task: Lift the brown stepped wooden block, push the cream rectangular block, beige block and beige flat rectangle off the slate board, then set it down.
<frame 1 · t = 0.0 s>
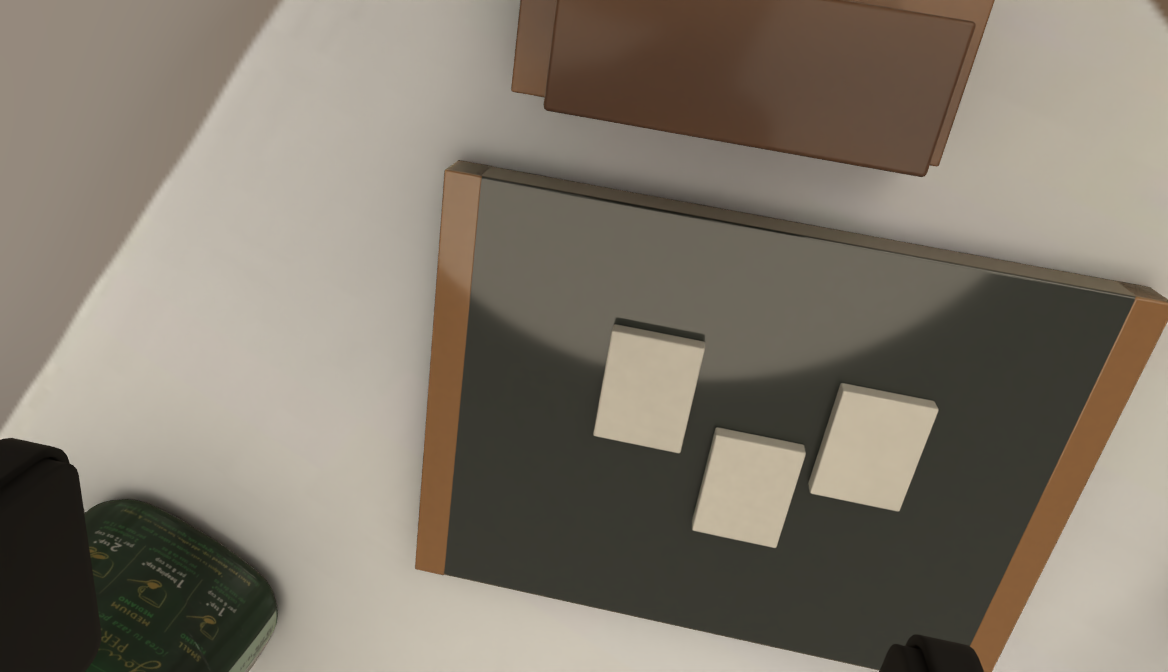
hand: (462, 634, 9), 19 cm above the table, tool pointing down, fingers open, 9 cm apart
beige block 2: (746, 483, 28), point 1 cm above the table, touching slate board
cream rectangular block 1: (648, 385, 27), point 1 cm above the table, touching slate board
brown stepped wooden block: (736, 39, 24), on the table
coffee jar: (184, 577, 36), on the table
beige flat rectangle 3: (868, 443, 27), point 1 cm above the table, touching slate board
slate board: (737, 434, 29), on the table
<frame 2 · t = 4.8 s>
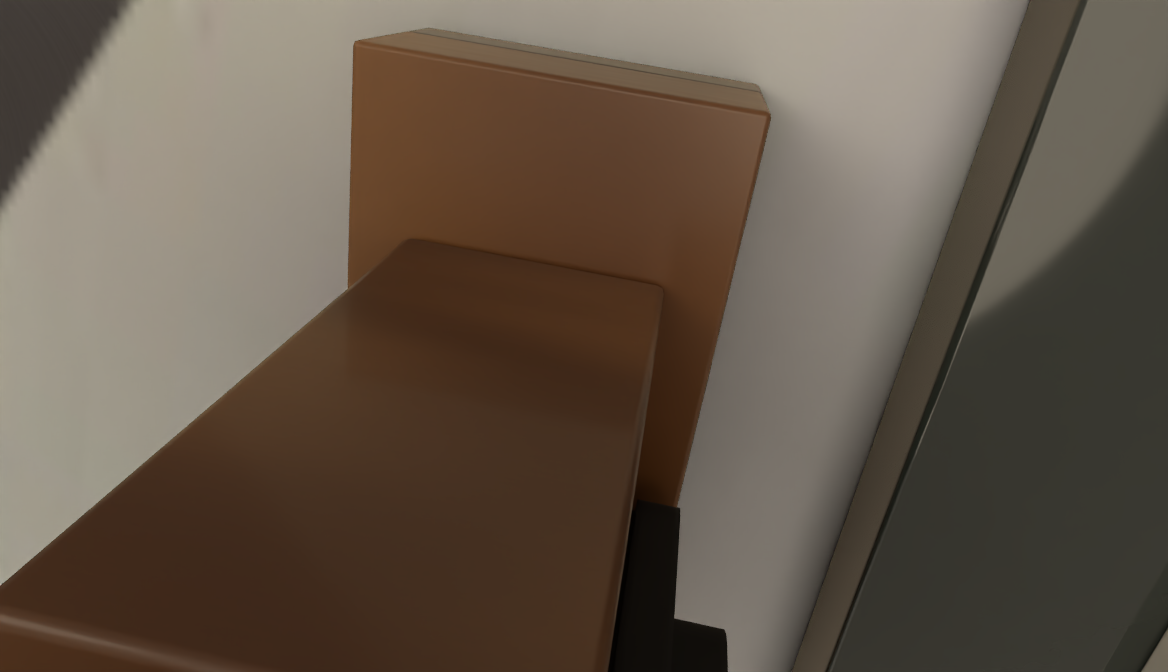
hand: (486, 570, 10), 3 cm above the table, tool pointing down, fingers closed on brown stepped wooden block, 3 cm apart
brown stepped wooden block: (534, 444, 13), on the table, touching gripper
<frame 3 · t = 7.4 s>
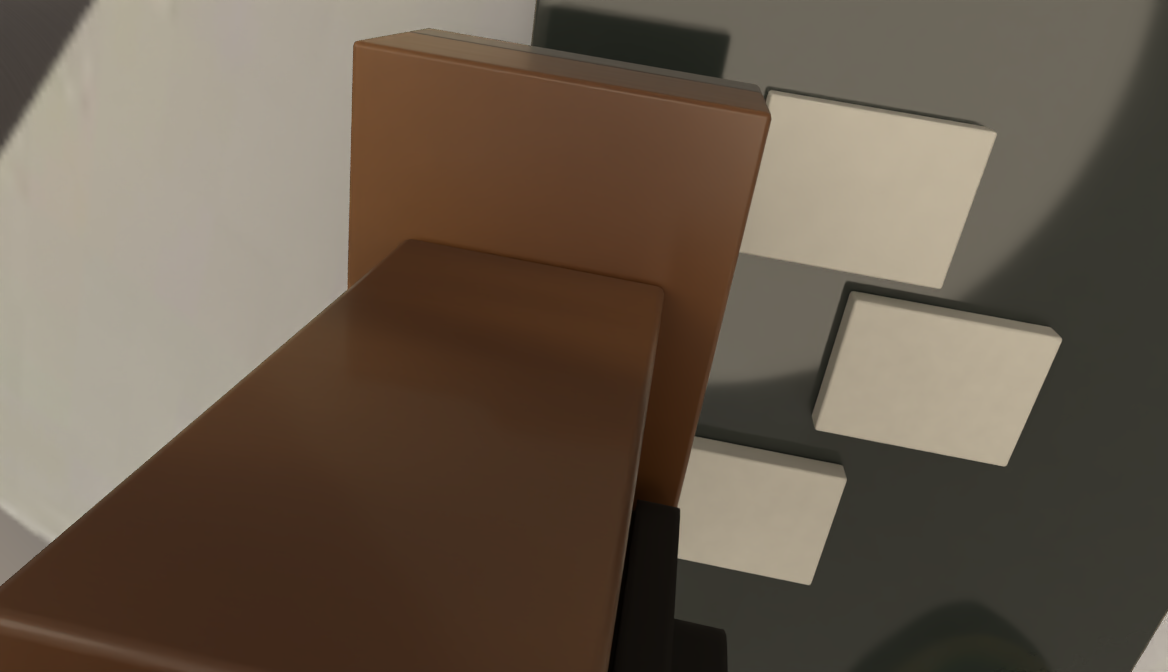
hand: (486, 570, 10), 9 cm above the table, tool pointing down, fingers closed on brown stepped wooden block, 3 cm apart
beige block 2: (925, 373, 17), point 1 cm above the table, touching slate board
cream rectangular block 1: (738, 501, 18), point 1 cm above the table, touching slate board
brown stepped wooden block: (534, 445, 13), point 6 cm above the table, touching gripper
beige flat rectangle 3: (853, 187, 15), point 1 cm above the table, touching slate board
slate board: (857, 355, 18), on the table
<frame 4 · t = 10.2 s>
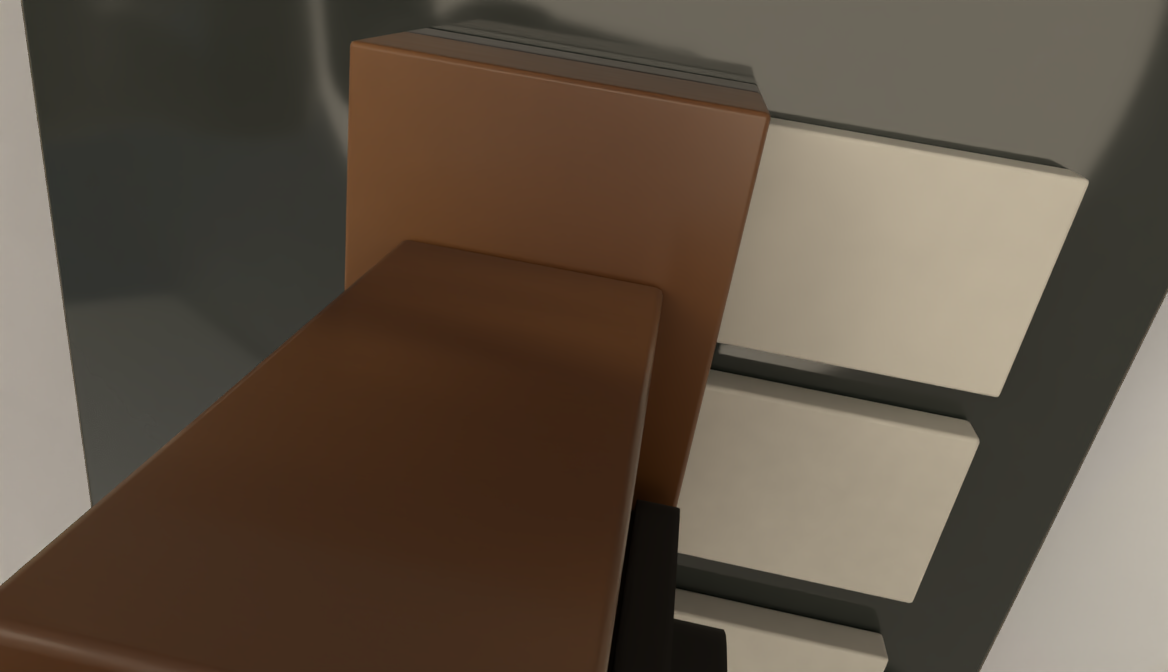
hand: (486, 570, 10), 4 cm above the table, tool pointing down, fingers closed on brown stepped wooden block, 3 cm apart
beige block 2: (804, 476, 12), point 2 cm above the table
cream rectangular block 1: (742, 670, 14), point 2 cm above the table
brown stepped wooden block: (532, 446, 13), point 2 cm above the table, touching beige flat rectangle 3, gripper
beige flat rectangle 3: (874, 252, 11), point 2 cm above the table, touching brown stepped wooden block
slate board: (549, 400, 14), on the table
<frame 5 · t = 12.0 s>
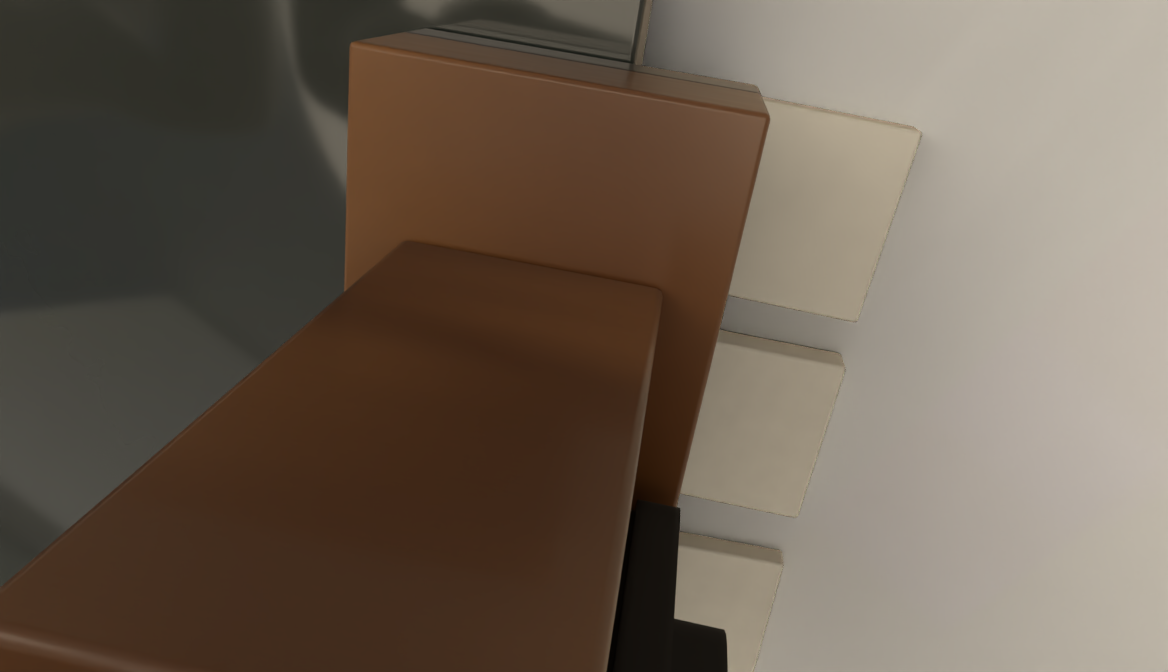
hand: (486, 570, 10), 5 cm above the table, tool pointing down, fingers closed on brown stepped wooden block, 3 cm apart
beige block 2: (702, 406, 14), on the table
cream rectangular block 1: (664, 585, 16), on the table
brown stepped wooden block: (532, 447, 13), point 2 cm above the table, touching gripper
beige flat rectangle 3: (753, 196, 13), on the table
slate board: (158, 319, 15), on the table
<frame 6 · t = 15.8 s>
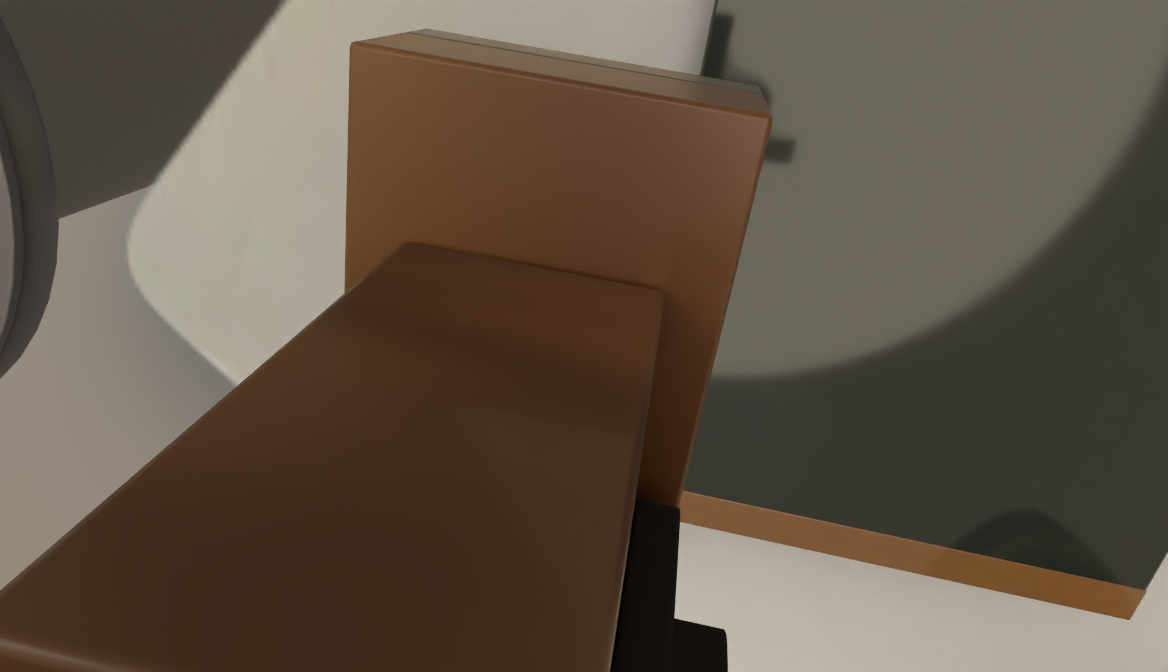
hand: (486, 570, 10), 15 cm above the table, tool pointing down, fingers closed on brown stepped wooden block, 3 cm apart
brown stepped wooden block: (533, 448, 13), point 12 cm above the table, touching gripper
slate board: (975, 210, 22), on the table
when the fingers open (3 cm above the table, at t = 18.7 s): brown stepped wooden block stays where it is, on the table.
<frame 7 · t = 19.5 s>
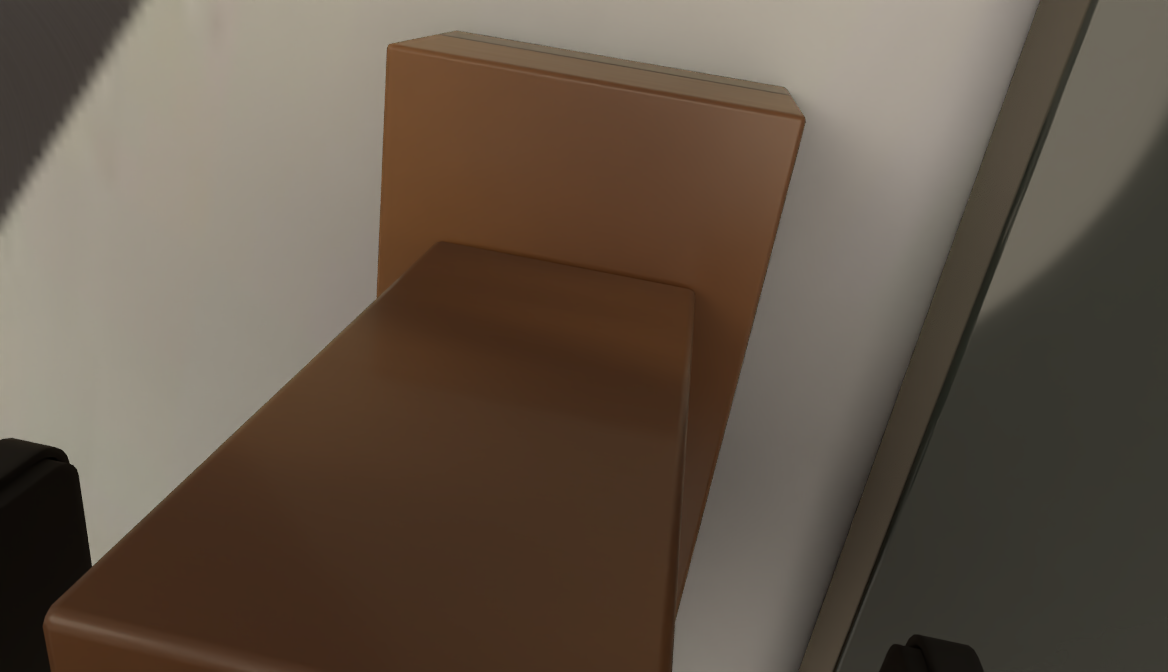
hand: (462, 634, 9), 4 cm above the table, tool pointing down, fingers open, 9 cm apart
brown stepped wooden block: (556, 447, 13), on the table
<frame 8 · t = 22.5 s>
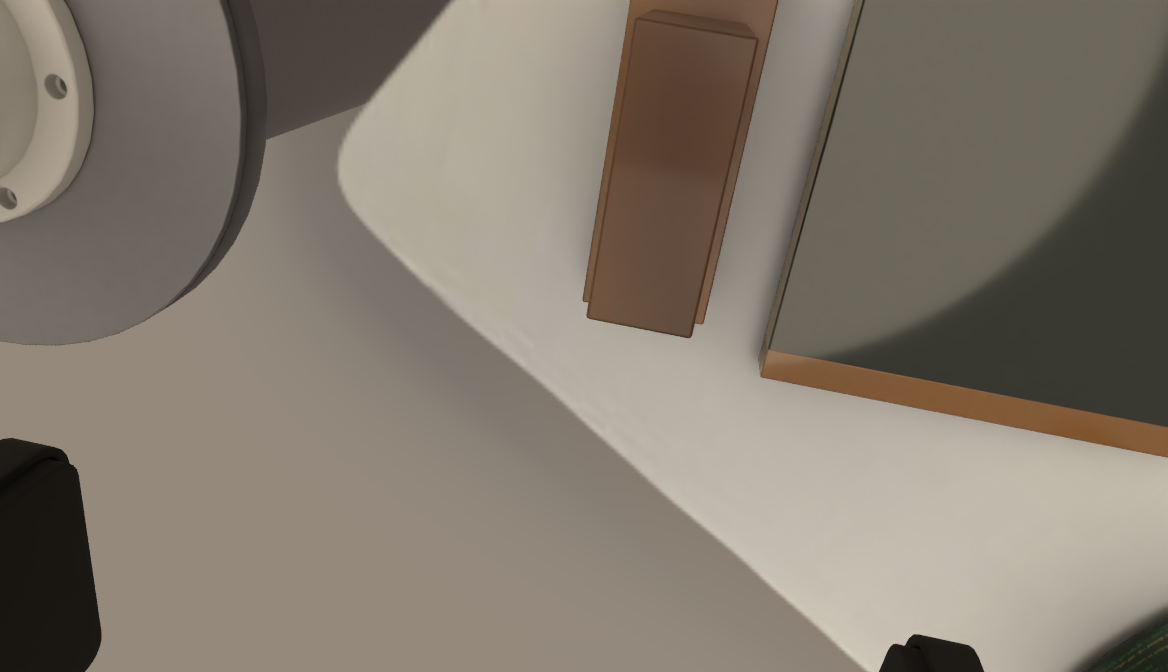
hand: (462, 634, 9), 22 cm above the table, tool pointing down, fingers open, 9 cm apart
brown stepped wooden block: (677, 133, 28), on the table
slate board: (1081, 110, 26), on the table
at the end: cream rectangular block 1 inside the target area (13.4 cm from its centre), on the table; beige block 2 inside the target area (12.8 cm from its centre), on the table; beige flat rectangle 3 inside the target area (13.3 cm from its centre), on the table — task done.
